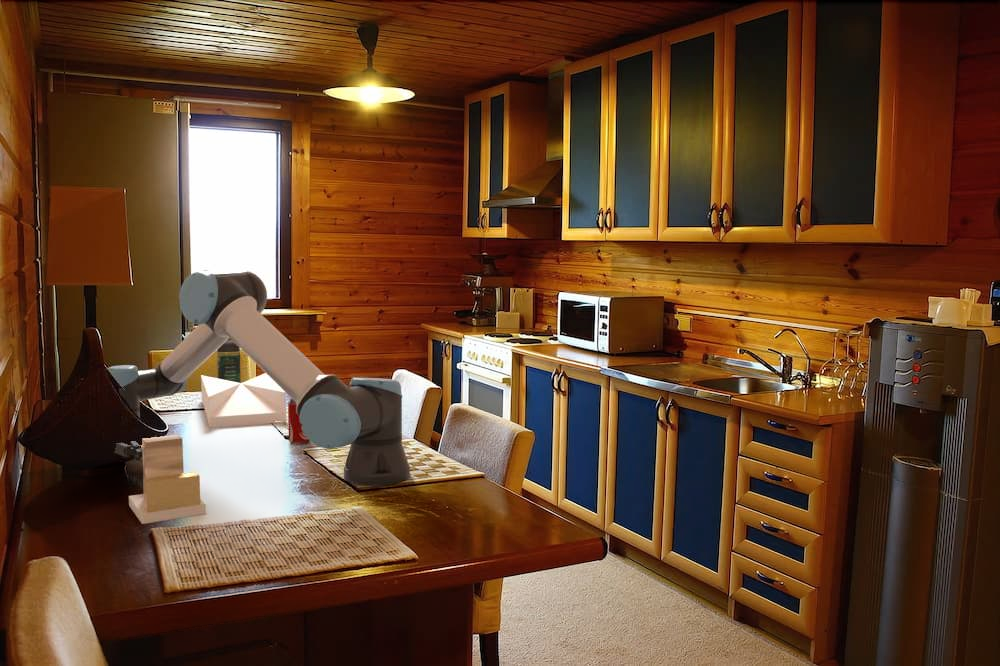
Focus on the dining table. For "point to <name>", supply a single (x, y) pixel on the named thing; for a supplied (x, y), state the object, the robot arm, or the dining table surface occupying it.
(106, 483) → the dining table surface
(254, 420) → the building model
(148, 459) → the wooden tall block
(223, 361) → the coffee jar
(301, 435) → the beverage can
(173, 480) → the contact block
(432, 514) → the dining table surface
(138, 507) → the base
